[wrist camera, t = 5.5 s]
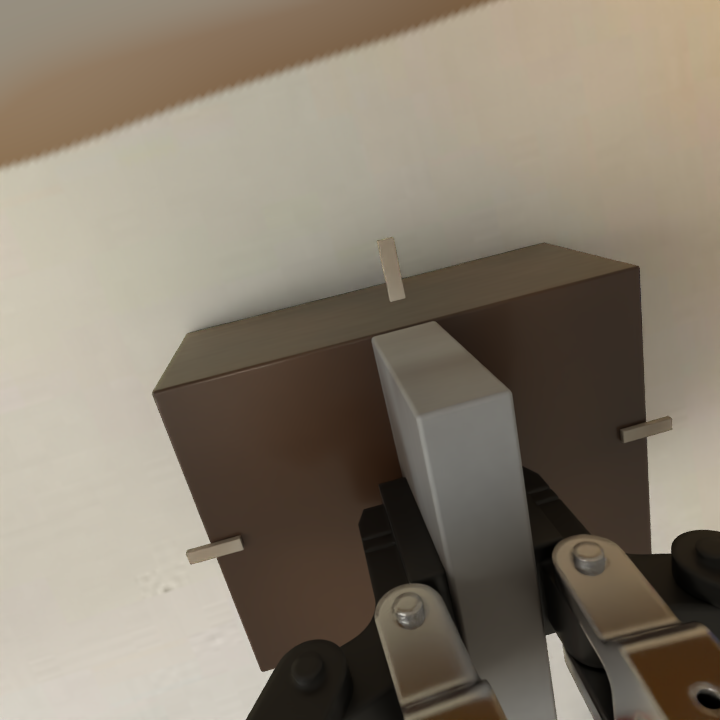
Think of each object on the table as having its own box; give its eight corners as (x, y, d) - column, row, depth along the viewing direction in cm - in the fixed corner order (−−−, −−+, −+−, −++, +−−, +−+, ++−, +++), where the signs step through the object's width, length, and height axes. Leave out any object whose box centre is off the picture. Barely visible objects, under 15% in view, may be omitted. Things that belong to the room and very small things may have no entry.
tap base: (265, 605, 21) (261, 735, 16) (143, 273, 16) (85, 314, 11) (587, 512, 22) (676, 609, 17) (556, 171, 17) (666, 169, 12)
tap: (370, 336, 13) (419, 423, 8) (435, 319, 13) (519, 396, 8) (435, 623, 16) (498, 800, 11) (488, 608, 16) (570, 777, 11)
